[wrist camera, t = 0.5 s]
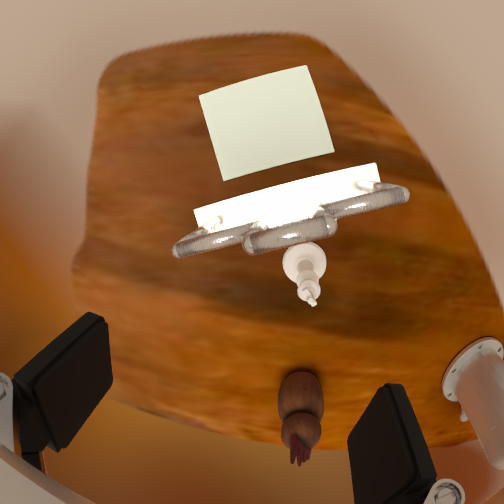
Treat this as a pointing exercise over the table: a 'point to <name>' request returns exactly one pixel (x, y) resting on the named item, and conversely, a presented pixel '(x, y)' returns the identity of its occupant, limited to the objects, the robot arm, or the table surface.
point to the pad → (266, 122)
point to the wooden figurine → (300, 414)
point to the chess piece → (305, 269)
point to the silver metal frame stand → (289, 212)
